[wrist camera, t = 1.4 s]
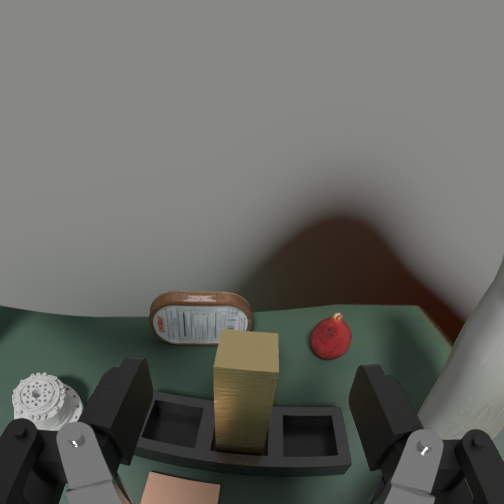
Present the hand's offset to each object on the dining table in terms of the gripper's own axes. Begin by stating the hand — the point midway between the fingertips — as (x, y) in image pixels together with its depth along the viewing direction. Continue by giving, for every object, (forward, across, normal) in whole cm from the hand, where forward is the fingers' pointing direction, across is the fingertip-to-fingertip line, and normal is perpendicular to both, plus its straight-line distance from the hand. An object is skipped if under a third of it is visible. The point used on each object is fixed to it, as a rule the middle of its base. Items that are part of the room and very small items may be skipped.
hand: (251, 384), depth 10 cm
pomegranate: (+26, -12, +20) cm, 34 cm away
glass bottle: (+7, -22, +21) cm, 31 cm away
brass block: (+11, 0, +20) cm, 22 cm away
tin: (+28, +7, +19) cm, 35 cm away
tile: (+2, +6, +20) cm, 21 cm away
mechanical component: (+9, +24, +20) cm, 32 cm away
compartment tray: (+11, 0, +20) cm, 23 cm away
